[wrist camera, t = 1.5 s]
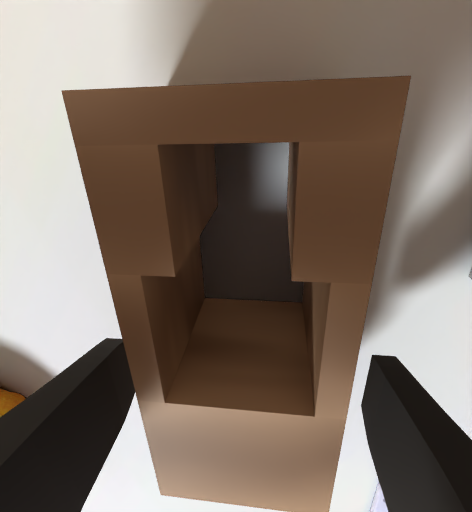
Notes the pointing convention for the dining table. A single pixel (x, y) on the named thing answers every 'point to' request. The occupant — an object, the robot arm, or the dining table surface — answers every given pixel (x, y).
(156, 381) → the block
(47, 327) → the dining table surface
